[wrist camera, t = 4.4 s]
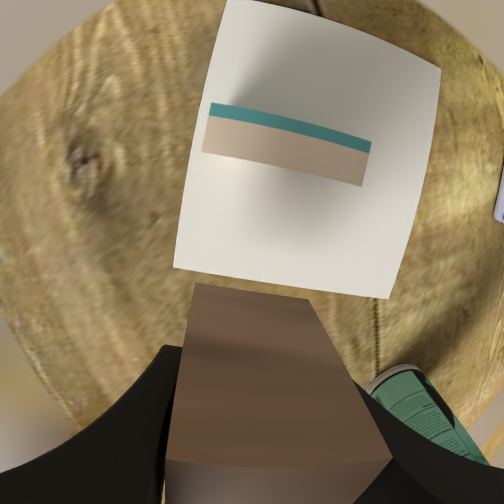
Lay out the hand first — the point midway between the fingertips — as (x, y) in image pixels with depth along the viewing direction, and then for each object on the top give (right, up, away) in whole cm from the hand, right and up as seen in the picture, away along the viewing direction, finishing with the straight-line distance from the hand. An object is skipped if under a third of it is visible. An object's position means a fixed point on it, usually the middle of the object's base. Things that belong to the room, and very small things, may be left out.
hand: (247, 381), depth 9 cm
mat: (+4, +9, +6) cm, 12 cm away
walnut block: (0, +1, +2) cm, 2 cm away
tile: (+1, +9, +6) cm, 11 cm away
